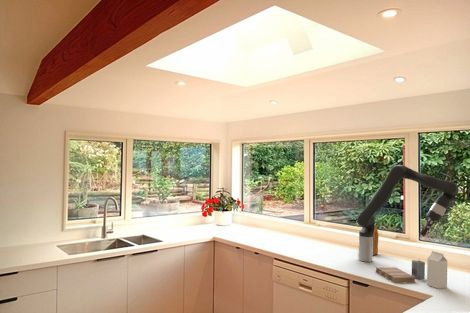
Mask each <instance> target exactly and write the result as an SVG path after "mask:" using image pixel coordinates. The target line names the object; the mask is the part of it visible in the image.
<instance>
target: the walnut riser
mask: <svg viewBox="0 0 470 313" xmlns="http://www.w3.org/2000/svg"><path fill="white" fill-rule="evenodd" d="M375 273H377V274H378V275H380V276H382V277H383V276H384V278H385V277H386V278H385V279H387V280H389V281H390V280H391V282H392V283H395V284H397V283H399V284H400V283H401V282H408V283H416V279H415V277H414V276H412V274H410V273H408V272H406V271H404V270H402V269H400V268H398V267H397V266H396V267H395V266H385V267H384V266H380V267H379V266H377V267H375ZM401 284H402V283H401Z"/></svg>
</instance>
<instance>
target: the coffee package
mask: <svg viewBox="0 0 470 313" xmlns="http://www.w3.org/2000/svg"><path fill="white" fill-rule="evenodd" d="M377 254H379V231H378V225H375V229H374V233H373V256H375V255H377Z"/></svg>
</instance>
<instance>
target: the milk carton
mask: <svg viewBox="0 0 470 313" xmlns="http://www.w3.org/2000/svg"><path fill="white" fill-rule="evenodd" d="M426 266H427V267H426V270H427V271H426V272H427V273H426V285H427V286H430V287H431V288H435V289H437V290H438V289H439V290H441V289H445V288H448V260H447V258H446V257H445V255H444V253H440V252H437V251H434V250H432V251H431V252H430V254H429V256H428V257H427V265H426Z"/></svg>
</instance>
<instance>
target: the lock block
mask: <svg viewBox="0 0 470 313" xmlns="http://www.w3.org/2000/svg"><path fill="white" fill-rule="evenodd" d="M425 270H426V262H425V261H423V260H421V259H412V260H411V275H412V276H414V277H415V280H425V277H426V275H425V274H426V273H425Z"/></svg>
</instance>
